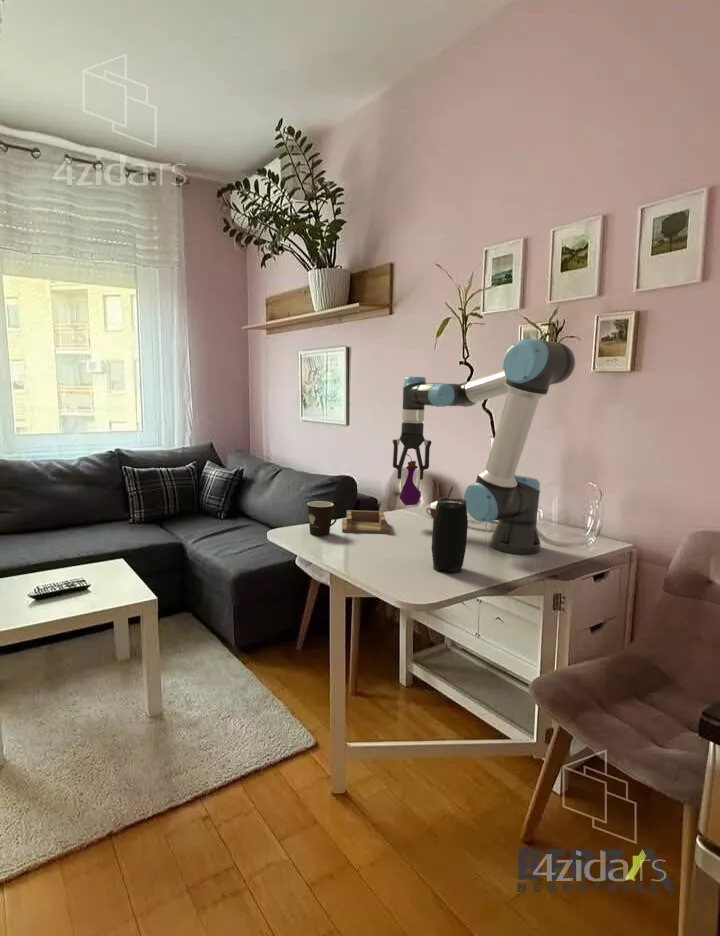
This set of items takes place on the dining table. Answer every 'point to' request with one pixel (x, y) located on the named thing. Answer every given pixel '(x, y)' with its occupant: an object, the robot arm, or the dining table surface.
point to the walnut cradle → (365, 522)
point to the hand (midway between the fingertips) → (409, 488)
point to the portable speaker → (449, 534)
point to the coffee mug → (320, 517)
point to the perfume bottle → (410, 486)
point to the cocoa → (434, 504)
